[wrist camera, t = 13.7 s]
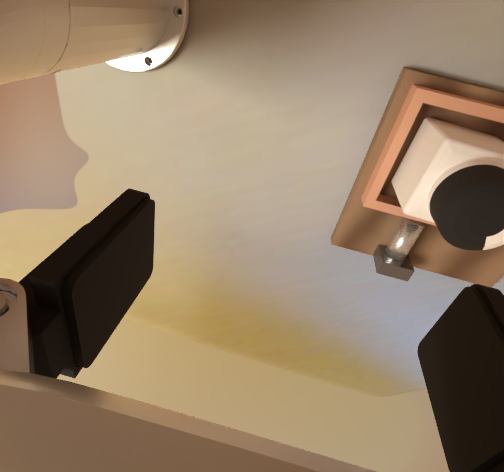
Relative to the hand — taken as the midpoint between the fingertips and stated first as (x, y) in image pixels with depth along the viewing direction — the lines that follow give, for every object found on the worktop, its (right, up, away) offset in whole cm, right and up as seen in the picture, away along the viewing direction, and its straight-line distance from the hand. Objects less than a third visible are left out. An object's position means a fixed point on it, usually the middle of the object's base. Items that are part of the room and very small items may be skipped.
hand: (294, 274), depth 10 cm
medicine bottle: (+18, +9, +23) cm, 30 cm away
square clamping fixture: (+20, +6, +26) cm, 34 cm away
